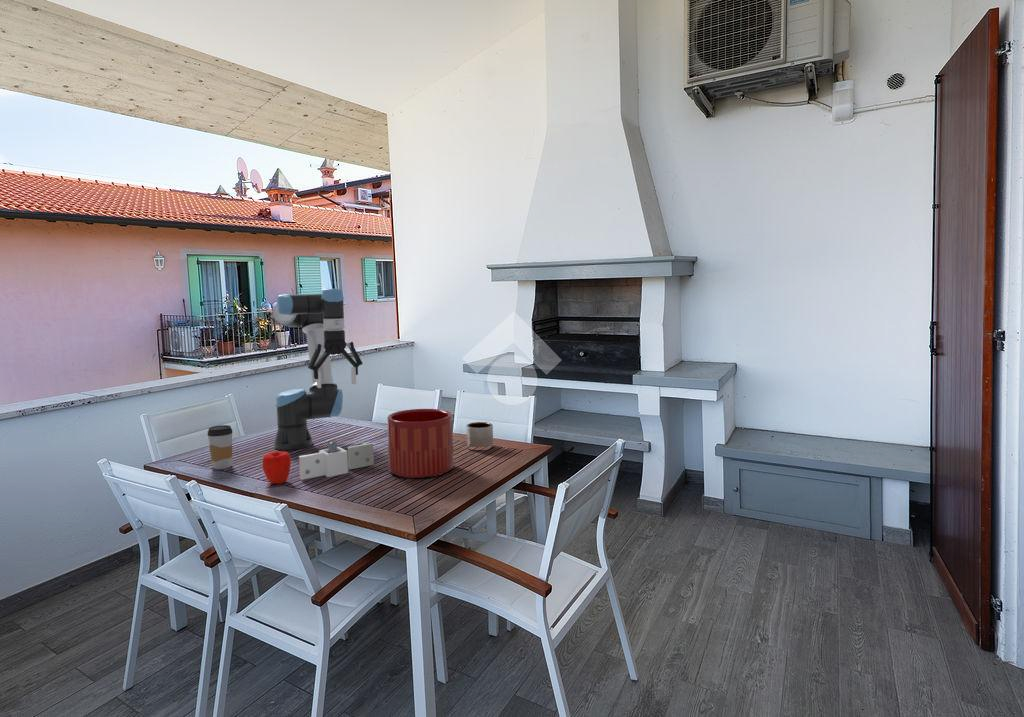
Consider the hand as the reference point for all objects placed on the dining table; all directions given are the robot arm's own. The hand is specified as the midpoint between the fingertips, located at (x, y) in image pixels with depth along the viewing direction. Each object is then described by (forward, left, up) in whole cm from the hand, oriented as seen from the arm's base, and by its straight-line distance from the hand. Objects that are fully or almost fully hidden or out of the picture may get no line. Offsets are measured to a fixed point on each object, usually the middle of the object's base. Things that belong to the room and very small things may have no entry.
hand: (336, 385), depth 219 cm
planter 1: (+32, +18, -29) cm, 47 cm away
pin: (+15, -8, -29) cm, 33 cm away
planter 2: (+21, +51, -29) cm, 62 cm away
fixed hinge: (+15, -12, -29) cm, 35 cm away
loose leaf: (+16, +2, -28) cm, 32 cm away
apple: (+14, -27, -29) cm, 42 cm away
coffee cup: (-18, -38, -29) cm, 51 cm away
